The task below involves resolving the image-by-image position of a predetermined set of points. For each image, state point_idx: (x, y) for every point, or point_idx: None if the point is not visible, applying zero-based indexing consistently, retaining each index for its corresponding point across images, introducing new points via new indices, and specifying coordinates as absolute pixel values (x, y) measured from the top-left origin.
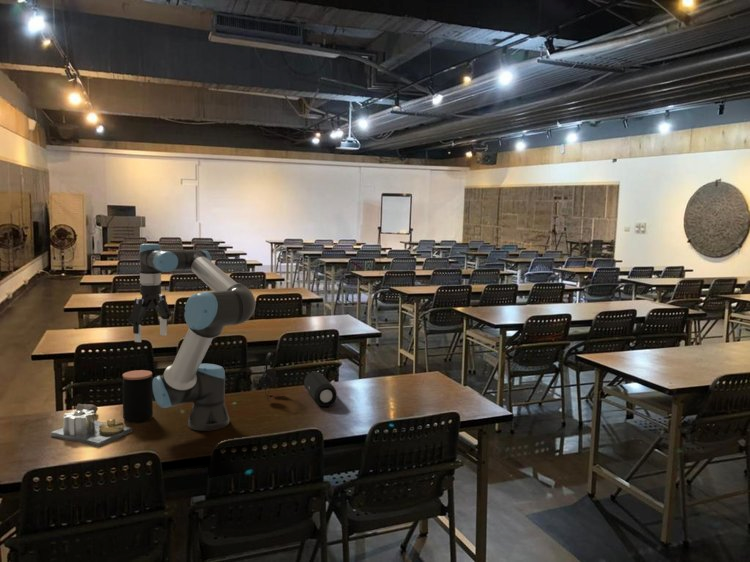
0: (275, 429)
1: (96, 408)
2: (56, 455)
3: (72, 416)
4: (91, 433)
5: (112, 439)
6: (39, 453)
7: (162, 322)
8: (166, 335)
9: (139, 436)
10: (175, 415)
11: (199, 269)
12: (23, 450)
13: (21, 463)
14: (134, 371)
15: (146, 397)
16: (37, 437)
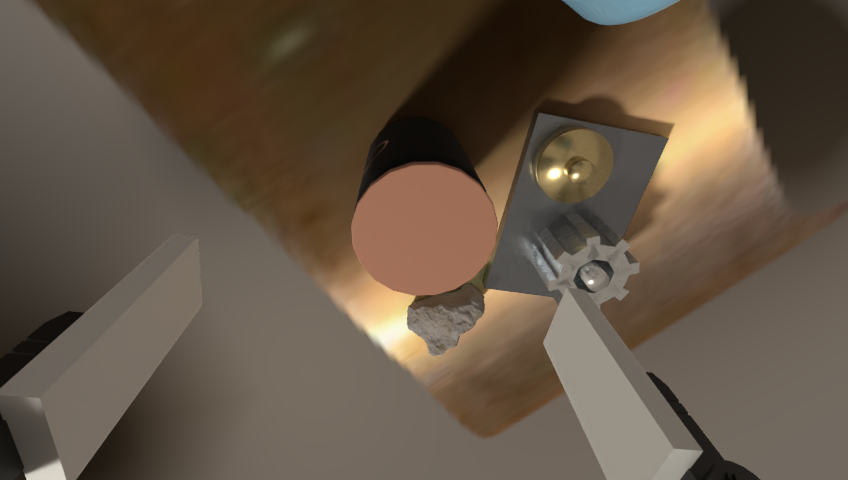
0: None
1: (426, 304)
2: (713, 204)
3: (617, 279)
4: (596, 203)
5: (612, 126)
6: (697, 249)
7: (99, 398)
8: (179, 235)
9: (569, 59)
10: (343, 45)
11: None
12: (677, 292)
13: (755, 246)
14: (392, 270)
15: (442, 139)
16: None
